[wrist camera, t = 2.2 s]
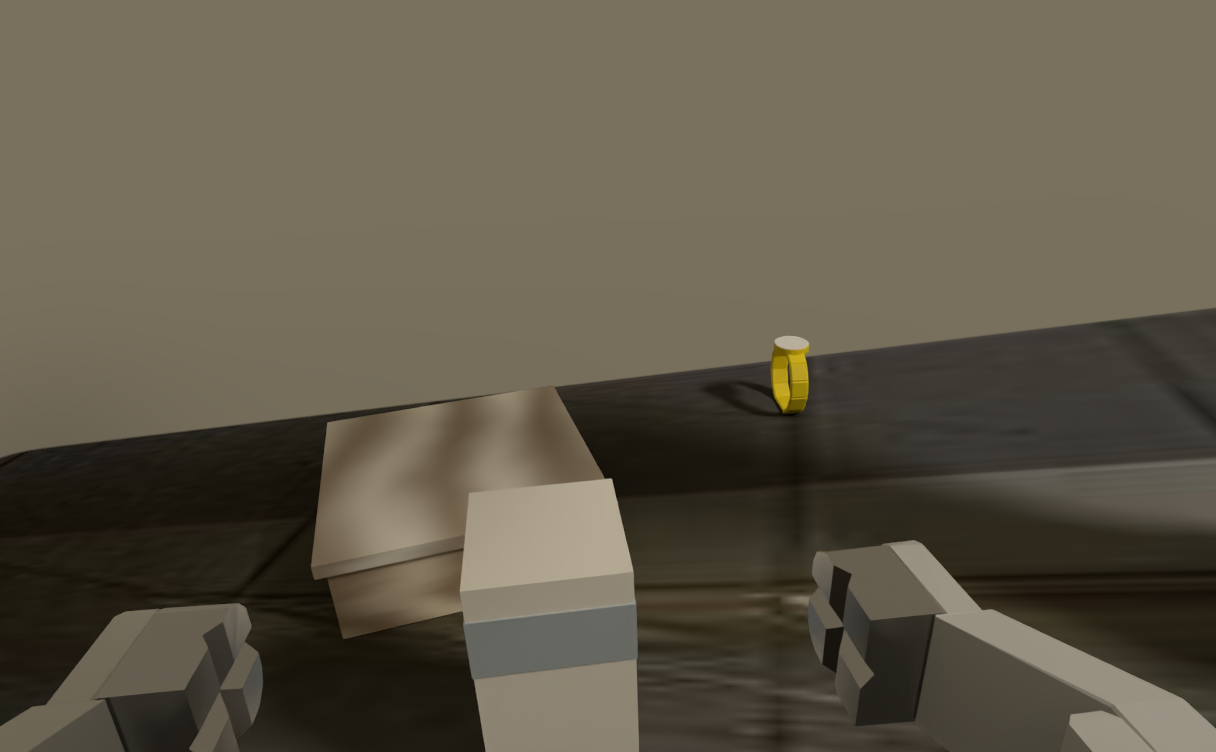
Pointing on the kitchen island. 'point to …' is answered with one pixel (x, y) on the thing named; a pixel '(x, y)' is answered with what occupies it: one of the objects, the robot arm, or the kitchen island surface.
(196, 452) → the kitchen island surface
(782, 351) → the watch
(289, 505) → the kitchen island surface
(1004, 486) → the kitchen island surface
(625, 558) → the carton
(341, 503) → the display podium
